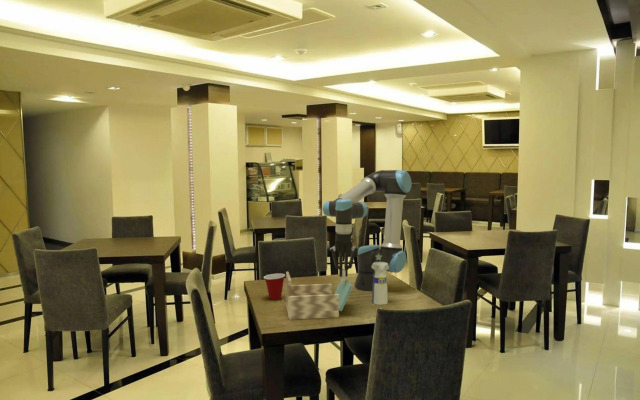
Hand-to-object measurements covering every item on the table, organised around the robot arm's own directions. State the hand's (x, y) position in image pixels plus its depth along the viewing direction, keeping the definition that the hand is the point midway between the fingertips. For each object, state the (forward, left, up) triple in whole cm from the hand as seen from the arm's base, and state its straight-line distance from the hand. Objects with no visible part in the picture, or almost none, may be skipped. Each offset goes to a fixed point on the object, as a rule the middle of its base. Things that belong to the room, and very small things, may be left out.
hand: (343, 283), depth 217 cm
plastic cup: (+31, -24, -13) cm, 41 cm away
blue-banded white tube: (-20, -9, -13) cm, 25 cm away
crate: (+15, 0, -12) cm, 20 cm away
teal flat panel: (+3, 0, -10) cm, 10 cm away
